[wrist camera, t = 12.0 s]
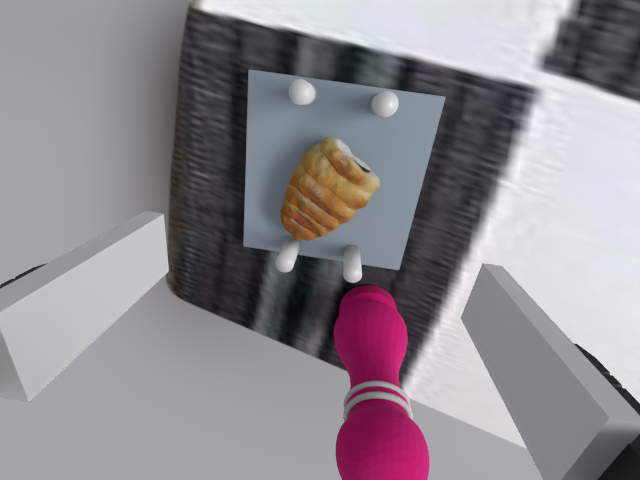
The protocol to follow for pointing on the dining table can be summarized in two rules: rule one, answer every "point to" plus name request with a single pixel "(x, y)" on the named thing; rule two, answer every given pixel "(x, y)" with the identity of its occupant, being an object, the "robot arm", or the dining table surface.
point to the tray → (364, 143)
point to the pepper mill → (376, 392)
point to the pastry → (326, 190)
